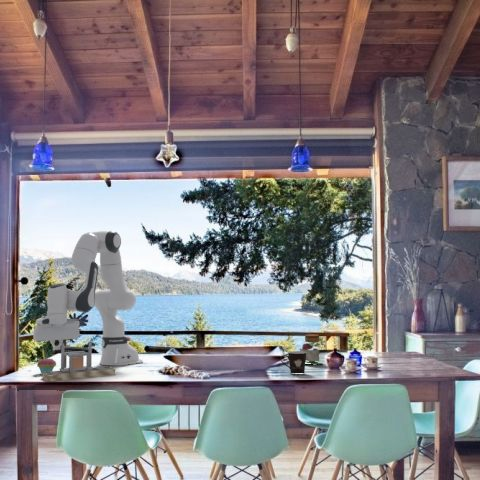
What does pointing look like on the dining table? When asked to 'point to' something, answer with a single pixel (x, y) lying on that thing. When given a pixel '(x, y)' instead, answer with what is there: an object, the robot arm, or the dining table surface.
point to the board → (78, 374)
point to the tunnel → (73, 354)
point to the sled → (76, 360)
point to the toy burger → (311, 354)
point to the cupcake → (46, 364)
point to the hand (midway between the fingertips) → (56, 350)
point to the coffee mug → (296, 361)
